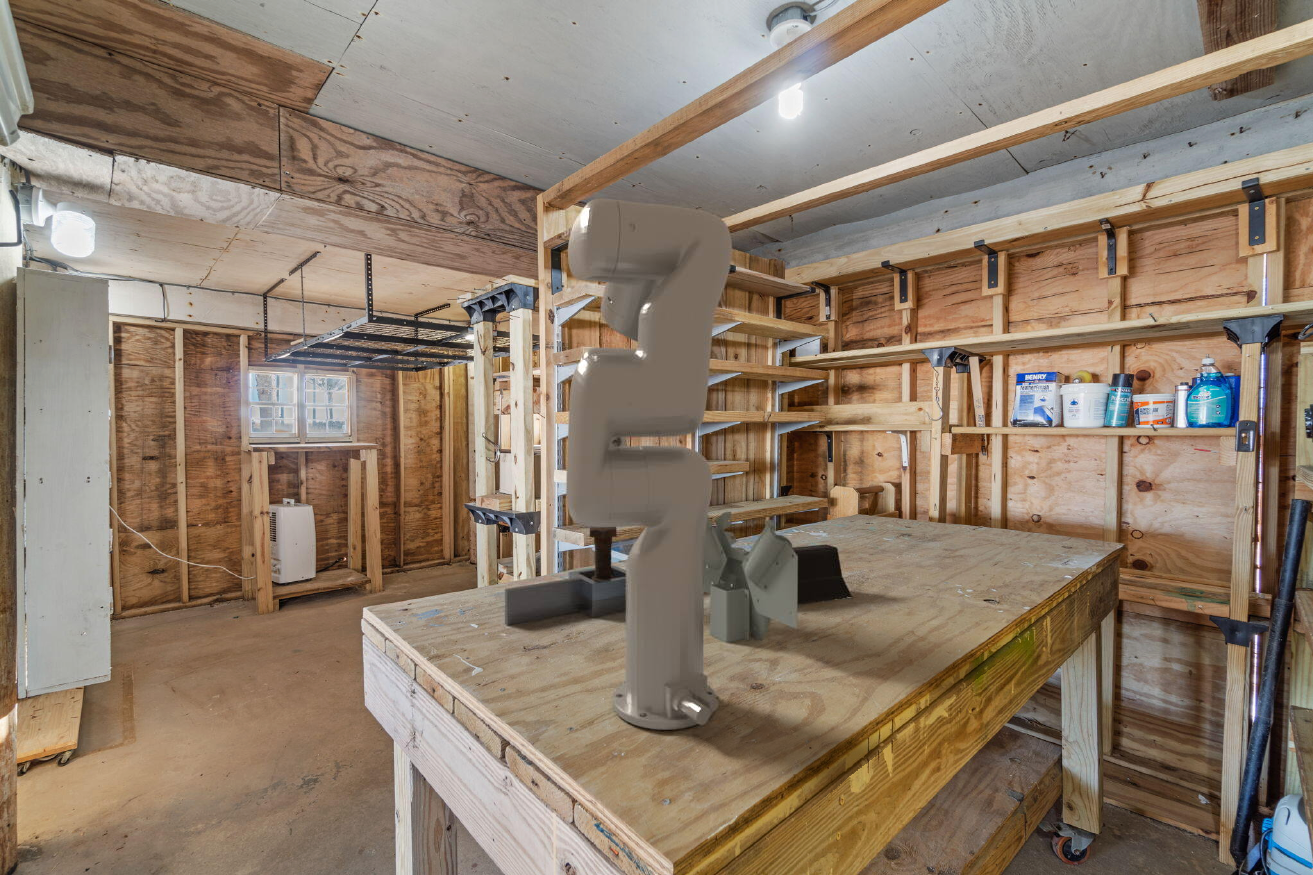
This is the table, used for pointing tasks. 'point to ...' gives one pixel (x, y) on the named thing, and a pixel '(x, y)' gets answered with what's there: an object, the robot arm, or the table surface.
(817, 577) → the barrier
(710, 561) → the bracket
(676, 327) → the robot arm
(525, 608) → the grey square socket holder
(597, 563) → the bolt
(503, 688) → the table surface
